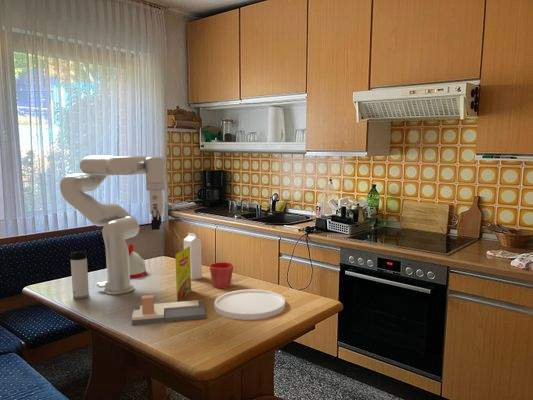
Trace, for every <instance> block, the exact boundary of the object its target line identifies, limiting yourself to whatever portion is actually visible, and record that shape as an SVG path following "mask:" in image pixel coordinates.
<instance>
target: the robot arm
mask: <svg viewBox="0 0 533 400" xmlns="http://www.w3.org/2000/svg"><path fill="white" fill-rule="evenodd" d="M79 170H81V172H82V173H72V174H68V175H65V176H64V177H62V178H61V180H60V181H59V182H60V183H59V190H60V194H61V196H62V197H63V199H64V200H65V201H66V202H67V203H68V204H69V205H70V206H71V207H73V208H74V209H76V210H77V211H78V212H79V213H80V214H81V215H83V217H84V218H85V219H87V220H88V221H89V222H90V223H91V224H93V225H95V226H97V227H102V231H101V232H102V234H101V235H102V238H103V242H104V248H105V259H106V275H107V276H106V277H107V280H105V281H102V282H101V281H100V282H98V281H97V283H96V287H97V288H99V289H102V288H104V291H103V292H104V293H105V294H106V295H122V294H127V293H130V292H133V291H134V289H135V285H134V284H133V283H131V278H130V266H129V250H128V248H129V245H128V244H127V243H126V242H127V241H126V240H128V239H131V238H134V237H136V236H137V235H138V234H139V232H140V223H139V222H138V220H137V219H136V218H135V217H134V216H133V215H132V214H131V213H129V212H128V211H127V210H126V209H125V208H124V207H122V206H121V205H120V204H118V203H114V202H111V203H110V202H109V203H101V202H99V201H98V200H96V198H94V197H93V196H91V195H89V194H88V193H85V192H93V191H95V190H96V189H97V188H99V187H100V185H101V184H102V183H103V181H105V179H106V178H107V177H108V176H132V175H145V190H146V191H148V192H149V193H148V194H149V195H148V196H149V199H148V200H149V213H150V215H151V222H150V223H151V225H150V226H151V230H160V229H161V225H162V216H161V215H163V214H164V194H163V193H164V192H163V191H166V187H165V186H166V183H165V182H166V181H165V180H166V179H165V159H164V158H163V157H161V156H145V155H131V156H128V155H127V156H115V155H87V156H85V157H83V158H82V159H81V160H80V162H79Z"/></svg>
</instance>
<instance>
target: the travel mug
mask: <svg viewBox="0 0 533 400" xmlns="http://www.w3.org/2000/svg"><path fill="white" fill-rule="evenodd" d="M69 255H70V256H69V257H70V271H71V285H72V299H74V300H82V299H86V298H88V297H89V296H90V291H89V290H90V289H89V287H90V286H89V273H88V259H87V257H88V256H87V251H86V250H81V251H71V252H70V253H69Z"/></svg>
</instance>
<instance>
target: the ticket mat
mask: <svg viewBox="0 0 533 400" xmlns="http://www.w3.org/2000/svg"><path fill="white" fill-rule="evenodd" d="M134 306H135V305H134ZM154 308H164V318H153V319H142V320H132V319H131V325H132V326H134V325H135V326H137V325H147V324H148V325H149V324H158V323H167V322H168V323H169V322H178V321H179V322H180V321H188V320H200V319H206V318H207V315H206V308H205V303H204V300H199V299H197V300H196V299H195V300H187V301H184V300H183V301H178V302H177V301H172V302H162V303H154ZM141 309H142V304H140V305H136V306H135V307H134V310H141Z"/></svg>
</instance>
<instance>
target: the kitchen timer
mask: <svg viewBox="0 0 533 400" xmlns="http://www.w3.org/2000/svg"><path fill="white" fill-rule="evenodd" d="M134 248H135V247H134V245H133V244H129V245H128V250H129V266H130V279H135V278H140V277H143V276H145V275H146V274H147V269H146V262H145V259H143V258H142V257H141V256H140V254H139V253H137V252H135V251H134Z"/></svg>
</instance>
